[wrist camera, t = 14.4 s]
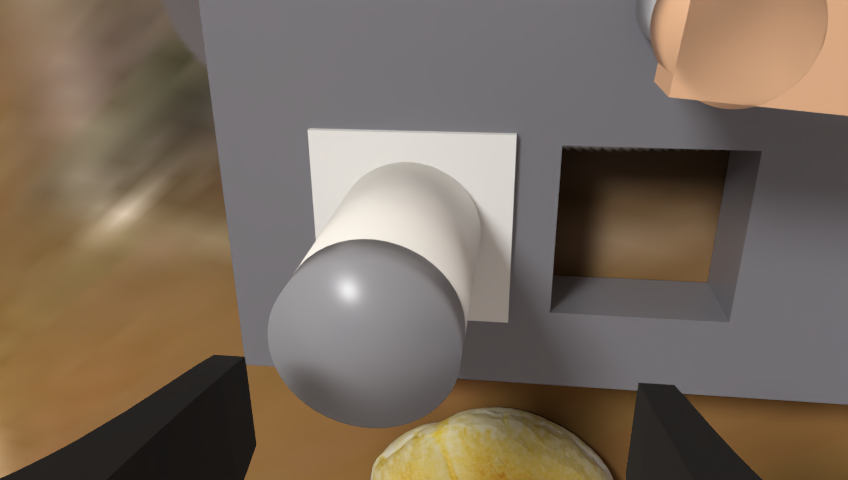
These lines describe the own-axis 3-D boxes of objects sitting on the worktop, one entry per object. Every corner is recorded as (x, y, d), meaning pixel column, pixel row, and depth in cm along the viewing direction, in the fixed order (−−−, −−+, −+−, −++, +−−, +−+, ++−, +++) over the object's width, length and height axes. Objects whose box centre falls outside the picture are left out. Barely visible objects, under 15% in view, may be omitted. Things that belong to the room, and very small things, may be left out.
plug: (477, 159, 18) (455, 259, 13) (484, 292, 20) (466, 430, 15) (331, 164, 19) (251, 262, 14) (349, 292, 21) (284, 425, 15)
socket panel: (1005, -88, 17) (1233, -101, 12) (874, 361, 22) (989, 498, 17) (227, -79, 19) (112, -86, 14) (270, 325, 25) (200, 435, 19)
